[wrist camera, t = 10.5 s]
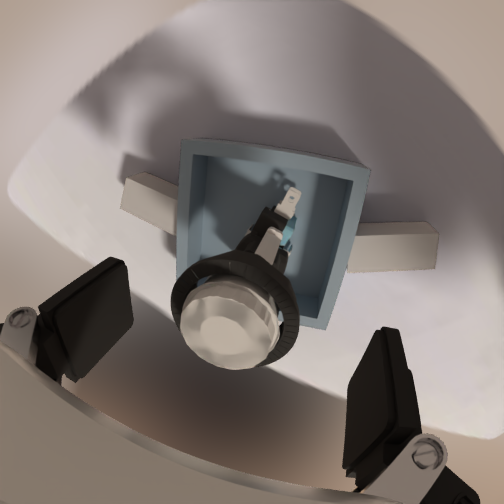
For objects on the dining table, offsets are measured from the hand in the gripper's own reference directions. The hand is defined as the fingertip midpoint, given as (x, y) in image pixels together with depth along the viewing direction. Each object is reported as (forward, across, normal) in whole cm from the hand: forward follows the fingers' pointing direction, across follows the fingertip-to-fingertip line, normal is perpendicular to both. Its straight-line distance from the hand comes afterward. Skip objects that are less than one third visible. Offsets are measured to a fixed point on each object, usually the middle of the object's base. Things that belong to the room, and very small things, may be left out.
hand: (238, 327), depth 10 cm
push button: (+10, +1, 0) cm, 10 cm away
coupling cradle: (+11, +1, 0) cm, 11 cm away
